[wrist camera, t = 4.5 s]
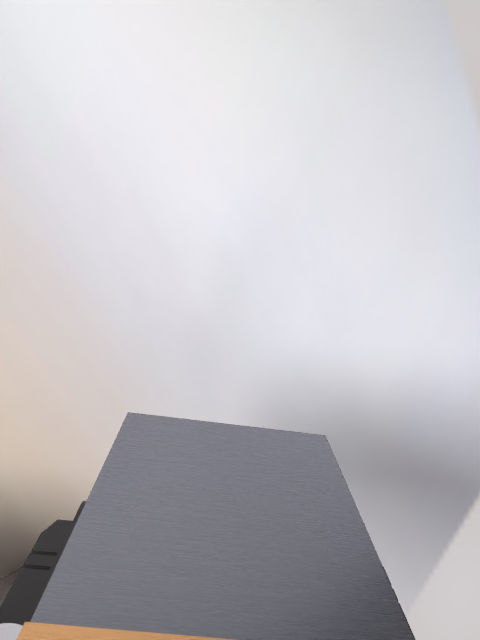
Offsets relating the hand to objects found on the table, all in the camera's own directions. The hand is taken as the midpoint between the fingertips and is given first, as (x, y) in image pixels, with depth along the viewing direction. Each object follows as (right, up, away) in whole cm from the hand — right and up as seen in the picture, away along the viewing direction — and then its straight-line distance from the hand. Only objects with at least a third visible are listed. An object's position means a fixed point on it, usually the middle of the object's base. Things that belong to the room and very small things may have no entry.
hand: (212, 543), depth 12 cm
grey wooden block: (0, 0, +1) cm, 1 cm away
